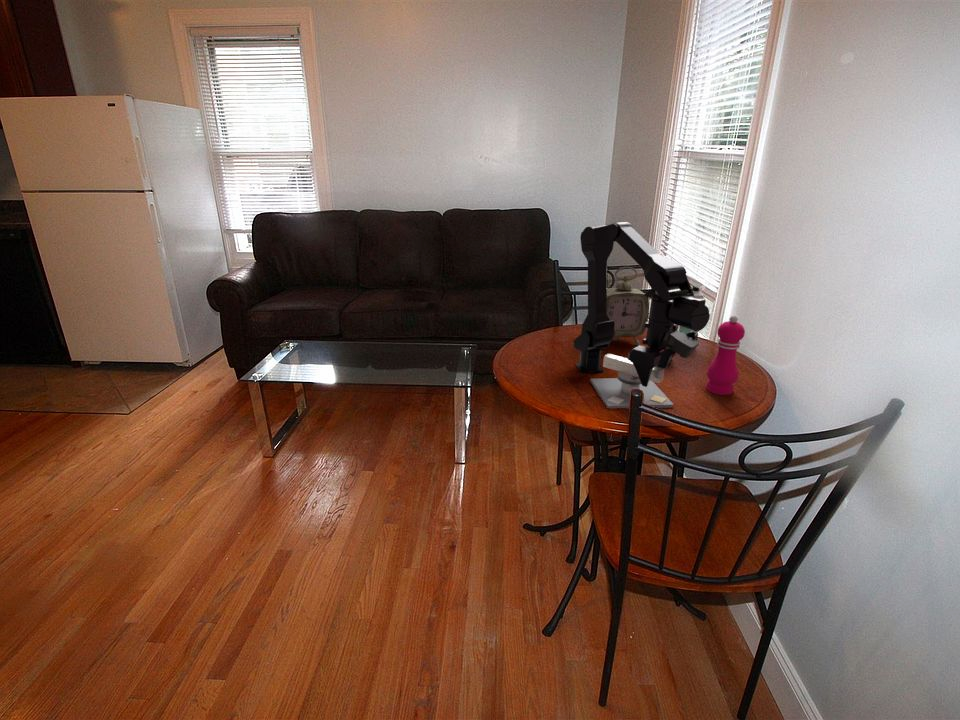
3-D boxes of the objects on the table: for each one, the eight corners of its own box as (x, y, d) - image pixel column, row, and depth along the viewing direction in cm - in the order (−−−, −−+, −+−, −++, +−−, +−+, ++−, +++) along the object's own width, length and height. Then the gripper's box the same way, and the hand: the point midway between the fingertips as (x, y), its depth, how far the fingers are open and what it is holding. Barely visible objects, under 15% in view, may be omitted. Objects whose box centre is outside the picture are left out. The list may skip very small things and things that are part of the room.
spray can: (679, 343, 158) (688, 283, 151) (696, 347, 155) (707, 285, 148) (674, 348, 154) (684, 286, 146) (692, 352, 151) (703, 289, 143)
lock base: (590, 381, 131) (591, 368, 129) (648, 380, 131) (650, 367, 130) (607, 409, 116) (609, 394, 114) (673, 407, 117) (675, 393, 115)
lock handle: (598, 374, 125) (599, 358, 123) (613, 366, 130) (614, 350, 128) (653, 392, 115) (656, 374, 113) (667, 382, 120) (670, 365, 119)
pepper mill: (725, 383, 129) (740, 311, 122) (740, 395, 122) (757, 320, 115) (699, 384, 129) (712, 311, 121) (712, 396, 122) (727, 320, 115)
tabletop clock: (599, 347, 155) (607, 269, 146) (592, 338, 163) (599, 264, 154) (644, 347, 155) (654, 269, 146) (635, 337, 164) (644, 263, 154)
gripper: (680, 336, 101) (669, 403, 107) (711, 317, 114) (700, 377, 119) (630, 325, 108) (623, 388, 114) (665, 308, 121) (656, 366, 126)
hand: (652, 380), depth 118 cm, fingers open, 9 cm apart
